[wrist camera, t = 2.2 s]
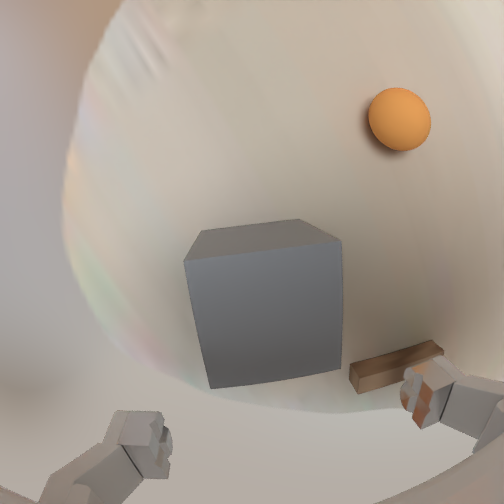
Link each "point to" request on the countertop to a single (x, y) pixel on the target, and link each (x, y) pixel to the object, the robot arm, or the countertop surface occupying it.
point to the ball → (399, 119)
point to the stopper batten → (390, 366)
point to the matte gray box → (266, 302)
